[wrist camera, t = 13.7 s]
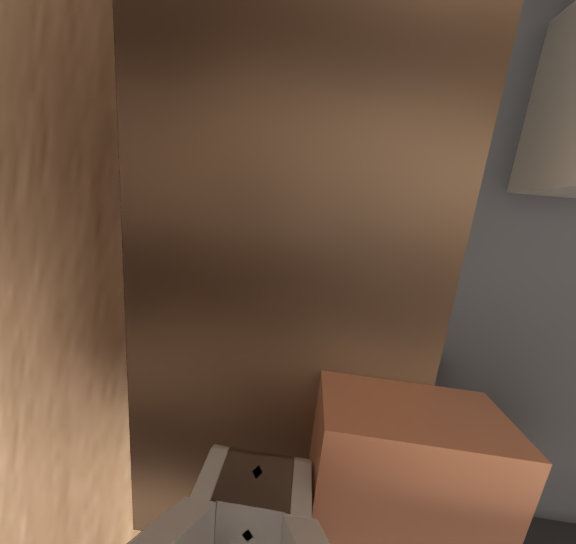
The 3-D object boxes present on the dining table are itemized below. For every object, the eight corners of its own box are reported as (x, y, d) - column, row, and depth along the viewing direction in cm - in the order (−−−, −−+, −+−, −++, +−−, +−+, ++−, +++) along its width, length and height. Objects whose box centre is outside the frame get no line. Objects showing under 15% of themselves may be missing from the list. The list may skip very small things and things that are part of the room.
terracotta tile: (321, 369, 9) (324, 429, 6) (483, 392, 9) (552, 464, 6) (303, 495, 10) (301, 587, 8) (447, 519, 10) (493, 623, 7)
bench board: (170, -90, 9) (103, -232, 6) (487, -82, 9) (579, -236, 6) (170, 462, 14) (133, 529, 11) (373, 494, 13) (390, 573, 10)
